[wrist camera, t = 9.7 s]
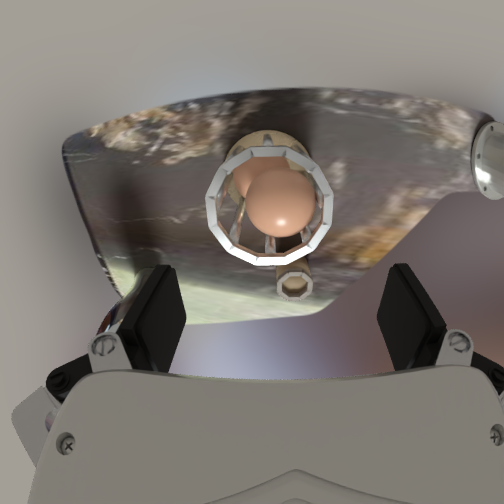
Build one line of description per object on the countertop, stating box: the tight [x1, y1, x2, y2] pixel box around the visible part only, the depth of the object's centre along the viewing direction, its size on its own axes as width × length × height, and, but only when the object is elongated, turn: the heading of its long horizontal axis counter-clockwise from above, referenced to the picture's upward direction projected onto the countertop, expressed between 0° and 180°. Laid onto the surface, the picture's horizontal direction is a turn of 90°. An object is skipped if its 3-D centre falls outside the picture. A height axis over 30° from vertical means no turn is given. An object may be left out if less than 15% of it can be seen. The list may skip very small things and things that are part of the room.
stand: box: [276, 256, 313, 301], centre depth 35 cm, size 4×4×5 cm
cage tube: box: [205, 130, 334, 265], centre depth 26 cm, size 10×10×13 cm
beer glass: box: [96, 268, 154, 335], centre depth 33 cm, size 7×7×15 cm
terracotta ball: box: [245, 167, 316, 237], centre depth 23 cm, size 6×6×6 cm
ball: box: [233, 156, 290, 198], centre depth 27 cm, size 6×6×6 cm
